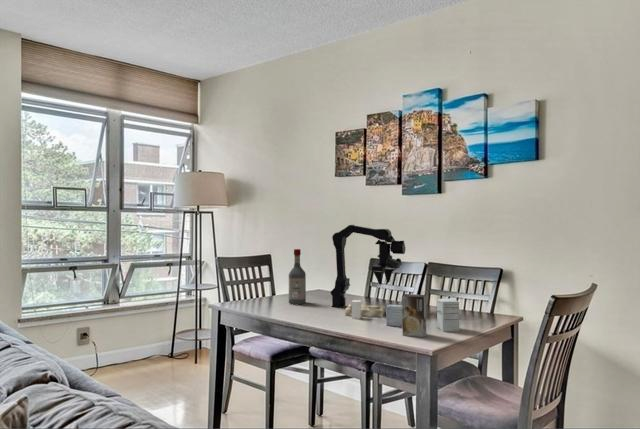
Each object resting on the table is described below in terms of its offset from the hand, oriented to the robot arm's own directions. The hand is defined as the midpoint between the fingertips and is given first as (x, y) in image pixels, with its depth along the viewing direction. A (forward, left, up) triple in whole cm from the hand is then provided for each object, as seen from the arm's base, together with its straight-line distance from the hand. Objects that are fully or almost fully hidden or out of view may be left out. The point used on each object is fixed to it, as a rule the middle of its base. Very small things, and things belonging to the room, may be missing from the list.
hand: (384, 283), depth 248 cm
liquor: (-49, +11, -14) cm, 52 cm away
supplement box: (+29, -38, -14) cm, 50 cm away
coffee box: (+15, -50, -14) cm, 54 cm away
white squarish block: (-12, -22, -14) cm, 28 cm away
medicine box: (+7, -34, -14) cm, 38 cm away
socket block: (-9, -11, -14) cm, 20 cm away
